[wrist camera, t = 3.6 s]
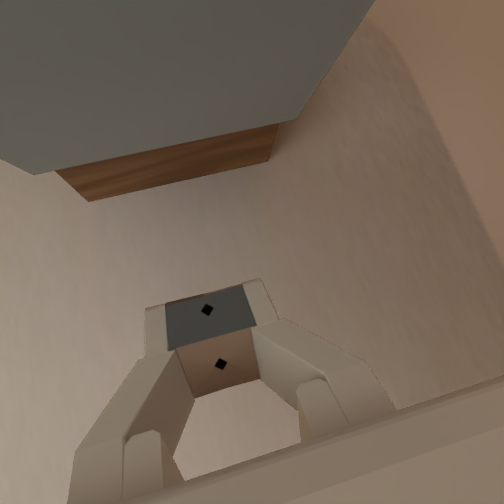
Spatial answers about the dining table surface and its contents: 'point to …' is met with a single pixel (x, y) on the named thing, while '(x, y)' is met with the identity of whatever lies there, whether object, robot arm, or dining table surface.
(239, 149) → the box
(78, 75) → the lid
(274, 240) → the dining table surface
